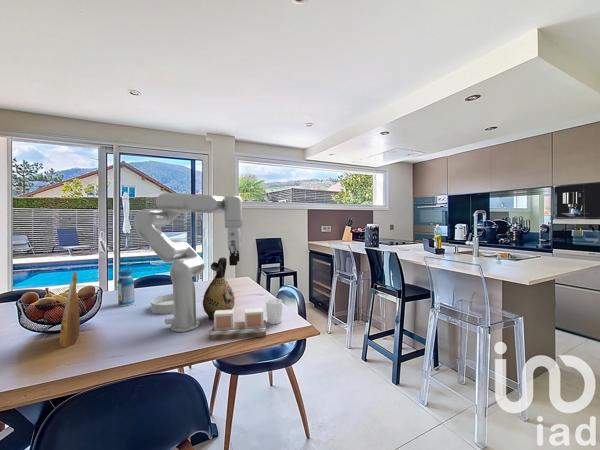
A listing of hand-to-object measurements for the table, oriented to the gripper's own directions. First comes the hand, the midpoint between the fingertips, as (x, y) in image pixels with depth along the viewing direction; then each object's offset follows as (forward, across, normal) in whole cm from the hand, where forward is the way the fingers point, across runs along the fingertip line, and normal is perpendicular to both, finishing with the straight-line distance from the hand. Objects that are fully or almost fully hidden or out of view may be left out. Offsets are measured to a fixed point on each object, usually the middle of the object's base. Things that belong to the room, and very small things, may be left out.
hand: (234, 263), depth 126 cm
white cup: (+31, +9, -17) cm, 36 cm away
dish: (+31, +40, +39) cm, 64 cm away
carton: (+28, 0, -8) cm, 29 cm away
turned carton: (+28, 0, +5) cm, 29 cm away
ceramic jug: (+31, +20, +10) cm, 38 cm away
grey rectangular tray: (+30, 0, -2) cm, 30 cm away
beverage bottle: (+31, +50, +68) cm, 90 cm away
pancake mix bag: (+31, +2, +68) cm, 75 cm away
